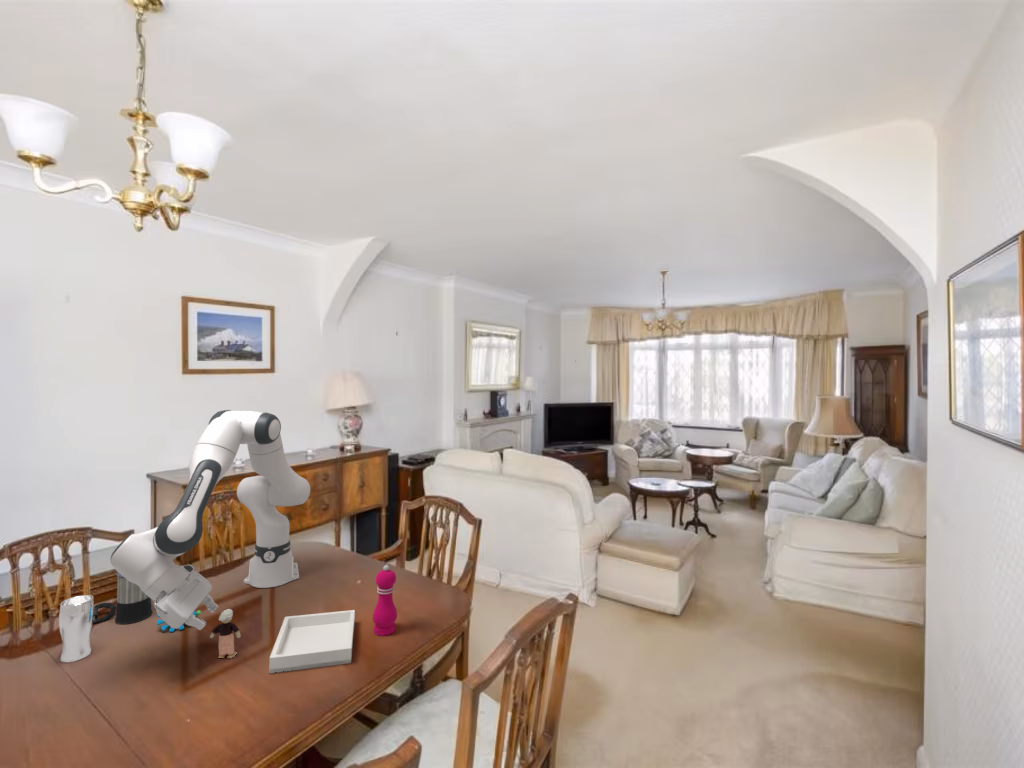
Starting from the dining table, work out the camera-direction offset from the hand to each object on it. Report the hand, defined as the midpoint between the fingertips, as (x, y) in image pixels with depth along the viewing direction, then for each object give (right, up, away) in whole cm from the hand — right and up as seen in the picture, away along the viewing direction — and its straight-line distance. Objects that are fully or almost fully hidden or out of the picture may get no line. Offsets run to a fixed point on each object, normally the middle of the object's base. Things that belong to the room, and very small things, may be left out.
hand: (209, 618), depth 128 cm
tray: (+26, -12, +8) cm, 29 cm away
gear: (-19, -11, +16) cm, 27 cm away
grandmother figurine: (+3, -11, +1) cm, 12 cm away
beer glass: (-36, -10, -1) cm, 37 cm away
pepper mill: (+43, -12, +17) cm, 47 cm away
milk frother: (-41, -10, +20) cm, 46 cm away
